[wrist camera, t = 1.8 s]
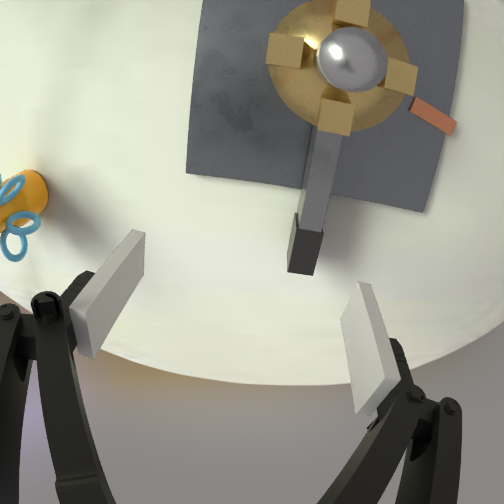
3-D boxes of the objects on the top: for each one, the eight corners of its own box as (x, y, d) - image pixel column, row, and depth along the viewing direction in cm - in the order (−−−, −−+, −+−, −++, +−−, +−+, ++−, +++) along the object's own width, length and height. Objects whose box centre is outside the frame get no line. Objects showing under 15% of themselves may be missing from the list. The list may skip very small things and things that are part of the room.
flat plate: (215, -58, 19) (190, -101, 11) (466, 0, 19) (520, -14, 10) (188, 170, 31) (154, 206, 23) (426, 210, 31) (466, 256, 22)
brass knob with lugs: (278, -2, 21) (277, -19, 16) (400, 26, 21) (424, 17, 16) (245, 244, 33) (238, 274, 29) (349, 260, 33) (359, 291, 28)
